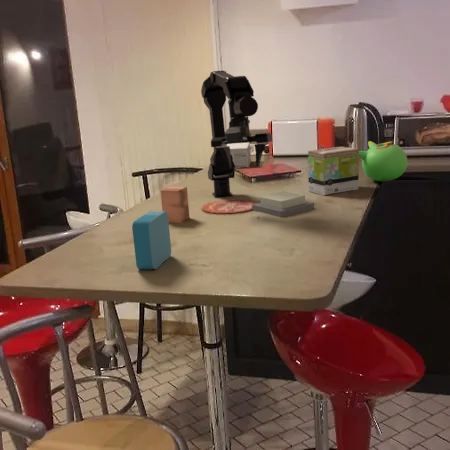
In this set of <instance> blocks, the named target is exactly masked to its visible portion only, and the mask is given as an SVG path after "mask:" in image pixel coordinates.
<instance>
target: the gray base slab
mask: <svg viewBox="0 0 450 450" xmlns="http://www.w3.org/2000/svg"><path fill="white" fill-rule="evenodd" d="M251 207H252V209H253V210H252V209H251V210H252V211H254V212H259V213H262V214H266V215H270V216H274V217H278V218H283V217H287V216H292V215H294V214H298V213H302V212H303V213H304V212H306V211H309V210H313V209H315V202H311V201H307V200H305V203H304V204H300V205H296V206H292V207H289V208H285V209H278V208H274V207H269V206H265V205H261V202H258V203H252V204H251Z"/></svg>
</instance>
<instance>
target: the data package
mask: <svg viewBox="0 0 450 450" xmlns="http://www.w3.org/2000/svg"><path fill="white" fill-rule="evenodd" d="M131 228H132V230H131V231H132V238H133V247H134V256H135V264H136V267H137V269H139V270H152V269H156V270H157V269H158V268H159V267H160V266H161V265H163V264H164V263H165V262H166V261H168V259H169V258H170V257H171V256H172V255H171V254H172V245H171V244H172V243H171V234H170V232H171V231H170V222H169V221H168V214H167V212H166V211H162V210H160V211H157V210H156V211H153V210H152V211H151V210H149V211H148V212H146V213H144V214H143V215H141V216H140V217H138V218H137V219H135V220H133V223H132V225H131ZM165 260H166V261H165ZM164 261H165V262H164ZM163 262H164V263H163ZM162 263H163V264H162Z"/></svg>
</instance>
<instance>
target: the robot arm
mask: <svg viewBox="0 0 450 450" xmlns="http://www.w3.org/2000/svg"><path fill="white" fill-rule="evenodd" d="M200 92H201V98H203V104H204V105H205V106H206V107H207V108H208V110H209V120H210V126H211V127H210V128H211V129H210V130H211V137H212V138H211V140H210V147H211V148H213V153H212V154H211V156H210V163H209V166H208V171H207V177H208V180H210V181H211V182H212V181H213V189H214V190H213V191H214V192H212V195H213V197H214V198H223V197H232V196H233V193H232V192H231V187H230V186H231V185H230V184H231V183H230V179H235V175H236V173H235V172H236V171H235V170H236V168H235V165H234V162H233V158H232V155H231V154H230V146H227V144H233V143H254V142H255V143H256V144H254V148H255V165H256V167H257V168H258V167H259V166H260V163H261V159H262V155H263V154H264V150H265V148H266V146H267V145H269V143H270V142H273V135H272V134H271V133H270V132H262V133H261V132H260V133H255V134H254V135H252V133H251V132H250V123H251V120H250V119H249V117H252V116H254V115H255V114H256V113H257V112H258V109H259V105H258V102H257V100H256V99H255V97H254V89H253V87H252V85H251V82H250V81H249V79H248V78H247V76H245V75H238V76H237V75H236V76H235V75H232V74H230V73H228V72H227V71H225V70H212V71H211V72H210V74H209V76H208V77H207V78H206V79H205V80H204V81H203V82H202V85H201V90H200ZM227 99H228V101H227ZM226 102H227V104H228V109H229V110H228V111H229V123H228V126H229V127H228V128H227V129H225V120H224V119H225V118H224V112H223V110H224V109H223V108H224V105H225V103H226ZM225 130H226V131H225Z"/></svg>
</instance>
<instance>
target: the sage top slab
mask: <svg viewBox="0 0 450 450" xmlns="http://www.w3.org/2000/svg"><path fill="white" fill-rule="evenodd" d="M259 199H260V200H259V201H260V203H261V205H265V206H269V207H274V208H278V209H285V208H289V207H292V206H296V205H300V204H304V203H305V201H306V194H305V195H304V194H299V193H293V192H290V191H289V192H288V191H280V192H276V193H272V194H266V195H263V196H260V197H259Z"/></svg>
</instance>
